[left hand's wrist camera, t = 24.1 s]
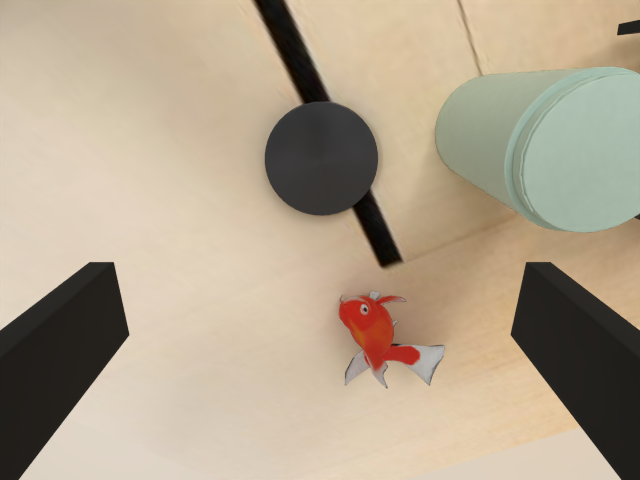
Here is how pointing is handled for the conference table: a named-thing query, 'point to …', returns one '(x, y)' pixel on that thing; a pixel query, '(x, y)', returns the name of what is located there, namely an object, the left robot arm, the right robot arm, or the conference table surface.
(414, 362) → the fish
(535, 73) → the jar
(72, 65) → the conference table surface
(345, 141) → the lid
